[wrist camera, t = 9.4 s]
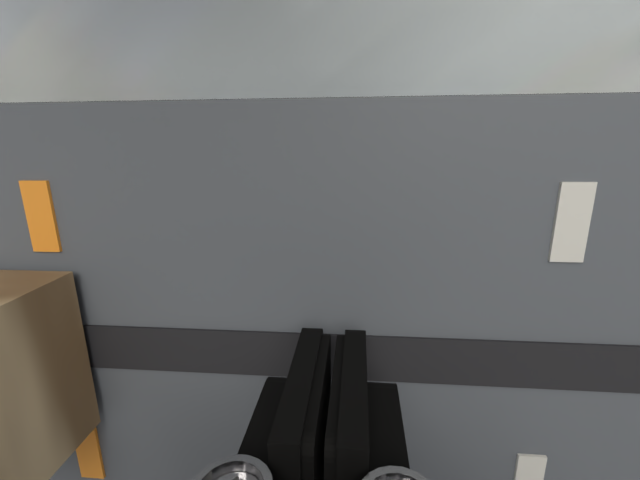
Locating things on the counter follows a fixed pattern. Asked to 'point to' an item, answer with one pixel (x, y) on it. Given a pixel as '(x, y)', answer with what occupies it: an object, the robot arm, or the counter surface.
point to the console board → (344, 268)
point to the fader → (42, 374)
